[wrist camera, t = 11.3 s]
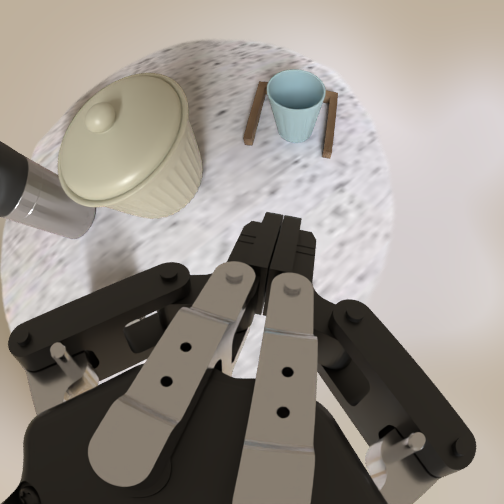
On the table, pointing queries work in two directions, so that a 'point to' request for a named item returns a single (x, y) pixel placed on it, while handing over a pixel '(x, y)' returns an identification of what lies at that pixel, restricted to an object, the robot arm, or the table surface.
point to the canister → (132, 149)
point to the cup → (295, 103)
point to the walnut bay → (257, 107)
